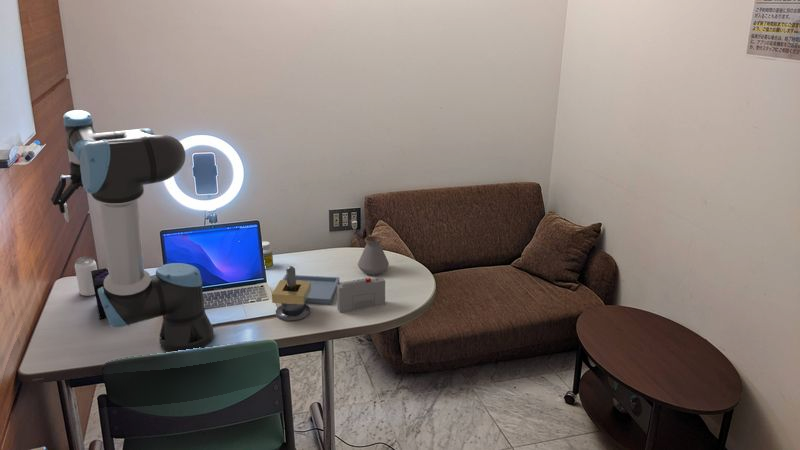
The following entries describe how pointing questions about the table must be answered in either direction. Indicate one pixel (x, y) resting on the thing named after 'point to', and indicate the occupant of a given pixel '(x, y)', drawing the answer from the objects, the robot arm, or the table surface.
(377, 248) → the coffee pot
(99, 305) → the energy cube
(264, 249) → the supplement bottle
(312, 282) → the tray
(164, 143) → the robot arm
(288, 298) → the ring
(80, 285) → the can
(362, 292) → the cassette player
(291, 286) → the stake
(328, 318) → the table surface
